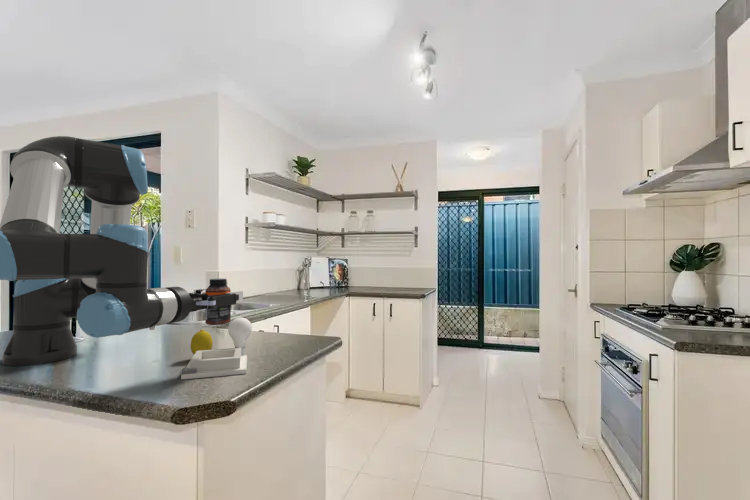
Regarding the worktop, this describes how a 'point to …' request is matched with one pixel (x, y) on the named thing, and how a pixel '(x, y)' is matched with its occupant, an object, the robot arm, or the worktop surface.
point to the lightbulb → (240, 332)
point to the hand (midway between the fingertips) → (230, 295)
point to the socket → (215, 363)
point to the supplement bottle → (220, 313)
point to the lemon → (201, 341)
